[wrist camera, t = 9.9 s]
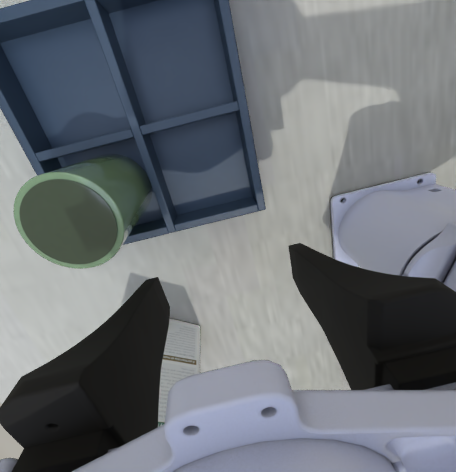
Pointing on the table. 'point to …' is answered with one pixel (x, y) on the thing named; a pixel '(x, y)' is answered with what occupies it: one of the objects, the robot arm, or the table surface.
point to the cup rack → (135, 100)
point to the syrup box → (178, 359)
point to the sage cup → (83, 209)
